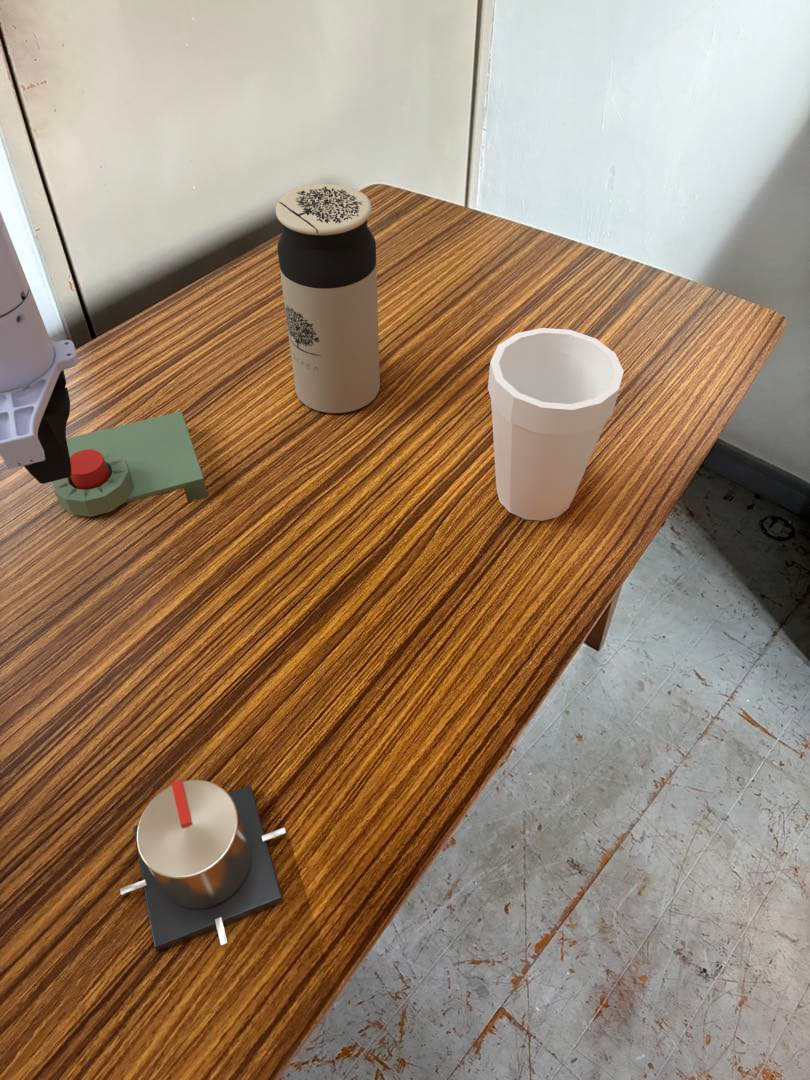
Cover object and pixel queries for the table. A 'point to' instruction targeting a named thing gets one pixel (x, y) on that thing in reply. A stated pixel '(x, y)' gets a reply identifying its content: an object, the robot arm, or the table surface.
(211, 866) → the metal dial knob
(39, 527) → the table surface
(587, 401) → the foam cup
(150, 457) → the button block
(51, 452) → the robot arm
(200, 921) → the metal dial knob base
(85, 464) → the red button
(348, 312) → the travel mug
